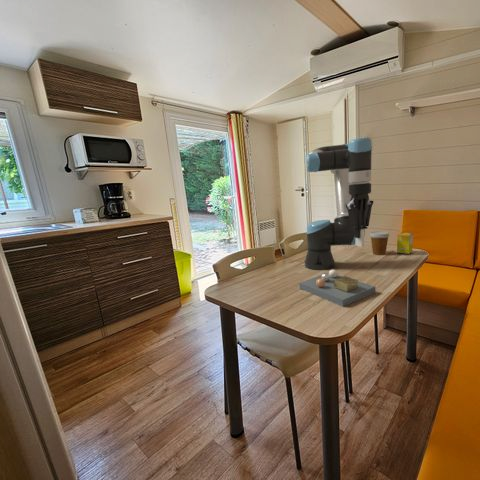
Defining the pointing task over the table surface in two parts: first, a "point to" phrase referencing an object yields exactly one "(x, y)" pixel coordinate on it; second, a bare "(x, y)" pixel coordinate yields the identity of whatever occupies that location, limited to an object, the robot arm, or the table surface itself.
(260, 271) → the table surface
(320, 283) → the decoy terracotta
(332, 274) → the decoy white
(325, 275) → the steel ball
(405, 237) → the supplement box
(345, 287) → the brass cover
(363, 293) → the slate plate
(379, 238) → the disposable coffee cup
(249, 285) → the table surface
